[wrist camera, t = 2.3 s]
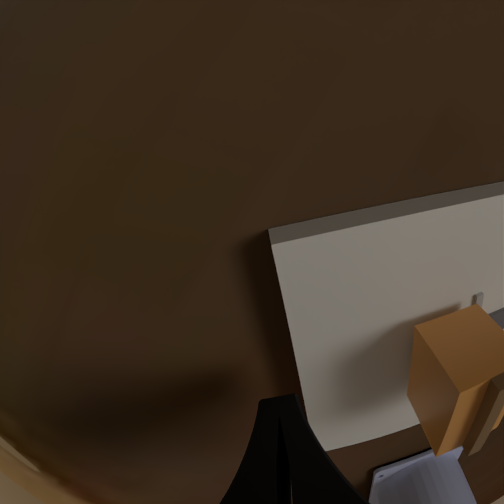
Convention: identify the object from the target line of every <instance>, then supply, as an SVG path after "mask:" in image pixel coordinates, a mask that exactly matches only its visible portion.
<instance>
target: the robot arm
mask: <svg viewBox="0 0 504 504" xmlns="http://www.w3.org/2000/svg"><path fill="white" fill-rule="evenodd" d="M462 450H463V447H462V446H460V447H458V448H456V449H453V450H451V451H449V452H447V453H444V454H442V455H440V456H437V457H435V455H434V452H433V450H432V449H431V450H428V451H426V452H423V453H421V454H418V455H415V456H413V457H410V458H407V459H404V460H402V461H399V462H396V463H393V464H390V465H386V466H383V467H380V468H378V469H376V470H375V471H374V473H373V479H372V485H371V491H370V496H369V501H367V500H366V499H365V498H364V497H363V496H362V495H361V494H360V493H359V492H358V491H357V490H356V489H355V488H354V487H353V486H352V485H351V484H350V482H349V481H348V480H347V479H346V478H345V477H344V475H343V474H342V473H341V472H340V471H339V469H338V468H337V467H336V466H335V464H334V463H333V462H332V460H331V459H330V457H329V456H328V455H327V453H326V452H325V450H324V449H323V447H322V446H321V444H320V442H319V441H318V439H317V437H316V436H315V434H314V432H313V430H312V429H311V427H310V425H309V423H308V421H307V419H306V417H305V414H304V412H303V410H302V407H301V404H300V401H299V396H298V395H297V394H289V395H284V396H279V397H273V398H268V399H262V400H260V401H259V405H258V411H257V416H256V420H255V424H254V428H253V432H252V435H251V438H250V441H249V444H248V447H247V450H246V452H245V455H244V457H243V460H242V462H241V464H240V467H239V469H238V471H237V473H236V475H235V478H234V479H233V481H232V483H231V485H230V487H229V489H228V491H227V492H226V494H225V496H224V497H223V499H222V501H221V502H220V504H291V484H292V498H293V504H477V503H476V501H475V498H474V496H473V494H472V491H471V489H470V487H469V485H468V482H467V480H466V478H465V476H464V473H463V471H462V469H461V467H460V465H459V463H458V458H459V456H460V454H461V452H462Z"/></svg>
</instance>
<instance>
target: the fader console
mask: <svg viewBox="0 0 504 504" xmlns="http://www.w3.org/2000/svg"><path fill="white" fill-rule="evenodd" d="M268 232H269V237H270V242H271V247H272V251H273V256H274V260H275V265H276V269H277V274H278V278H279V283H280V288H281V292H282V297H283V301H284V306H285V311H286V316H287V320H288V325H289V330H290V334H291V339H292V344H293V349H294V354H295V359H296V363H297V368H298V373H299V378H300V383H301V388H302V393H303V398H304V403H305V408H306V413H307V418H308V423H309V425H310V427H311V429H312V430H313V432H314V434H315V436H316V437H317V439H318V441H319V442H320V444H321V446H322V447H323V449H324V450H325V451H328V450H333V449H337V448H341V447H345V446H349V445H353V444H357V443H360V442H364V441H368V440H371V439H374V438H378V437H381V436H384V435H387V434H391V433H394V432H397V431H400V430H403V429H405V428H408V427H411V426H414V425H417V424H419V423H420V422H419V419H418V417H417V415H416V413H415V411H414V409H413V407H412V405H411V403H410V401H409V399H408V397H407V389H408V382H409V375H410V367H411V358H412V348H413V337H414V325H417V324H420V323H424V322H427V321H430V320H433V319H436V318H439V317H441V316H444V315H447V314H450V313H453V312H456V311H458V310H461V309H464V308H466V307H469V306H472V305H474V304H478V305H479V306H480V307H481V308H482V309H483V310H484V311H485V312H486V313H487V314H488V315H489V316H490V317H491V318H492V319H493V320H494V321H495V322H496V323H497V324H498V325H499V326H500V327H501V328H502V329H503V330H504V181H503V182H498V183H492V184H487V185H482V186H476V187H471V188H466V189H460V190H455V191H450V192H445V193H440V194H434V195H429V196H424V197H419V198H414V199H409V200H404V201H399V202H394V203H389V204H384V205H379V206H374V207H370V208H365V209H360V210H355V211H350V212H345V213H341V214H336V215H331V216H326V217H322V218H317V219H312V220H308V221H303V222H298V223H294V224H289V225H285V226H280V227H275V228H271V229H268Z"/></svg>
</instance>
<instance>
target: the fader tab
mask: <svg viewBox="0 0 504 504" xmlns="http://www.w3.org/2000/svg"><path fill="white" fill-rule="evenodd" d="M407 397H408V399H409V401H410V403H411V405H412V407H413V409H414V411H415V413H416V415H417V417H418V419H419V422H420V424H421V426H422V428H423V430H424V432H425V435H426V437H427V439H428V441H429V443H430V446H431V448H432V450H433V452H434V455H435V457H437V456H440V455H442V454H444V453H447V452H449V451H451V450H453V449H456V448H458V447H460V446H462V447H463V449H464V451H465V453H466V455H467V457H468V456H470V455H472V454H473V453H475V452H477V451H479V450H480V449H481V447H482V446H483V444H484V442H485V440H486V439H487V437H488V435H489V433H490V431H491V430H493V429H495V428H497V426H498V424H499V423H500V421H501V419H502V417H503V415H504V330H503V329H502V328H501V327H500V326H499V325H498V324H497V323H496V322H495V321H494V320H493V319H492V318H491V317H490V316H489V315H488V314H487V313H486V312H485V311H484V310H483V309H482V308H481V307H480V306H479V305H478V304H474V305H472V306H469V307H466V308H464V309H461V310H458V311H456V312H453V313H450V314H447V315H444V316H441V317H439V318H436V319H433V320H430V321H427V322H424V323H420V324H417V325H414V337H413V348H412V358H411V367H410V375H409V382H408V389H407Z"/></svg>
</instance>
